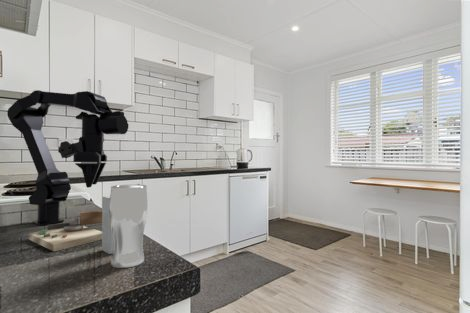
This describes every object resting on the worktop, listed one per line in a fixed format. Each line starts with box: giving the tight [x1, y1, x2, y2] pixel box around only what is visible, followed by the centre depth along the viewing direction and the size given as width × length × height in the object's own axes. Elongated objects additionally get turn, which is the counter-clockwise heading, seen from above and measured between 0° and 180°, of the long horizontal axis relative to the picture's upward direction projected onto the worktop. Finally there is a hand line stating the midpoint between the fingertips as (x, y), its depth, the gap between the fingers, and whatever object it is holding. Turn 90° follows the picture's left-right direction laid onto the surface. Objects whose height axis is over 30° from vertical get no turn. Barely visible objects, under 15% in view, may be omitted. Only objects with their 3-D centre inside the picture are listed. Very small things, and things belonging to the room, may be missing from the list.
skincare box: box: [101, 195, 114, 255], centre depth 58 cm, size 6×4×12 cm
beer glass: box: [109, 184, 148, 269], centre depth 51 cm, size 7×7×15 cm
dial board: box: [27, 225, 102, 252], centre depth 65 cm, size 14×12×2 cm
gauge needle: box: [47, 209, 102, 231], centre depth 69 cm, size 13×4×4 cm, turn 125°
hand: (91, 185), depth 79 cm, fingers open, 9 cm apart
